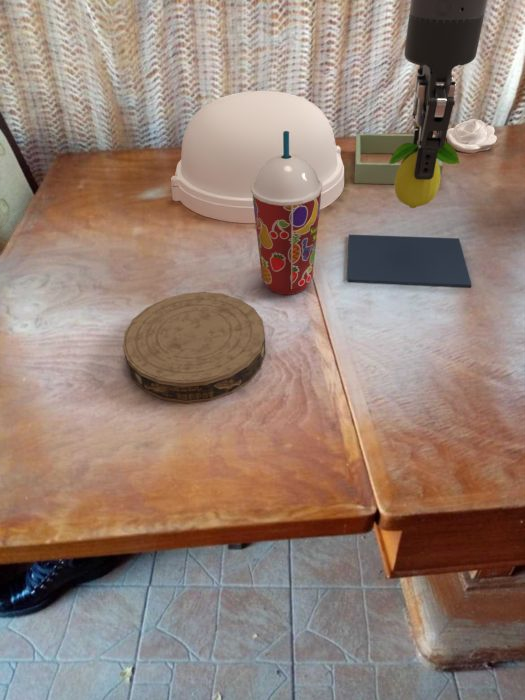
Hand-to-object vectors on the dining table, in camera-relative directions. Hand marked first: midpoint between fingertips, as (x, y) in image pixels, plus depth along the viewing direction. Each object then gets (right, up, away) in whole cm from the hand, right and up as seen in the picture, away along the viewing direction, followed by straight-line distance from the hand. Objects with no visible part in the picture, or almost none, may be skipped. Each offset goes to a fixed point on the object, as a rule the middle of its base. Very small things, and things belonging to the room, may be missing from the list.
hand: (421, 168), depth 67 cm
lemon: (0, -4, +4) cm, 6 cm away
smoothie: (-16, -14, +6) cm, 22 cm away
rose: (+21, +18, +40) cm, 48 cm away
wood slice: (-27, -23, -4) cm, 36 cm away
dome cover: (-20, +7, +30) cm, 37 cm away
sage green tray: (+5, +11, +32) cm, 35 cm away
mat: (0, -10, +9) cm, 13 cm away
